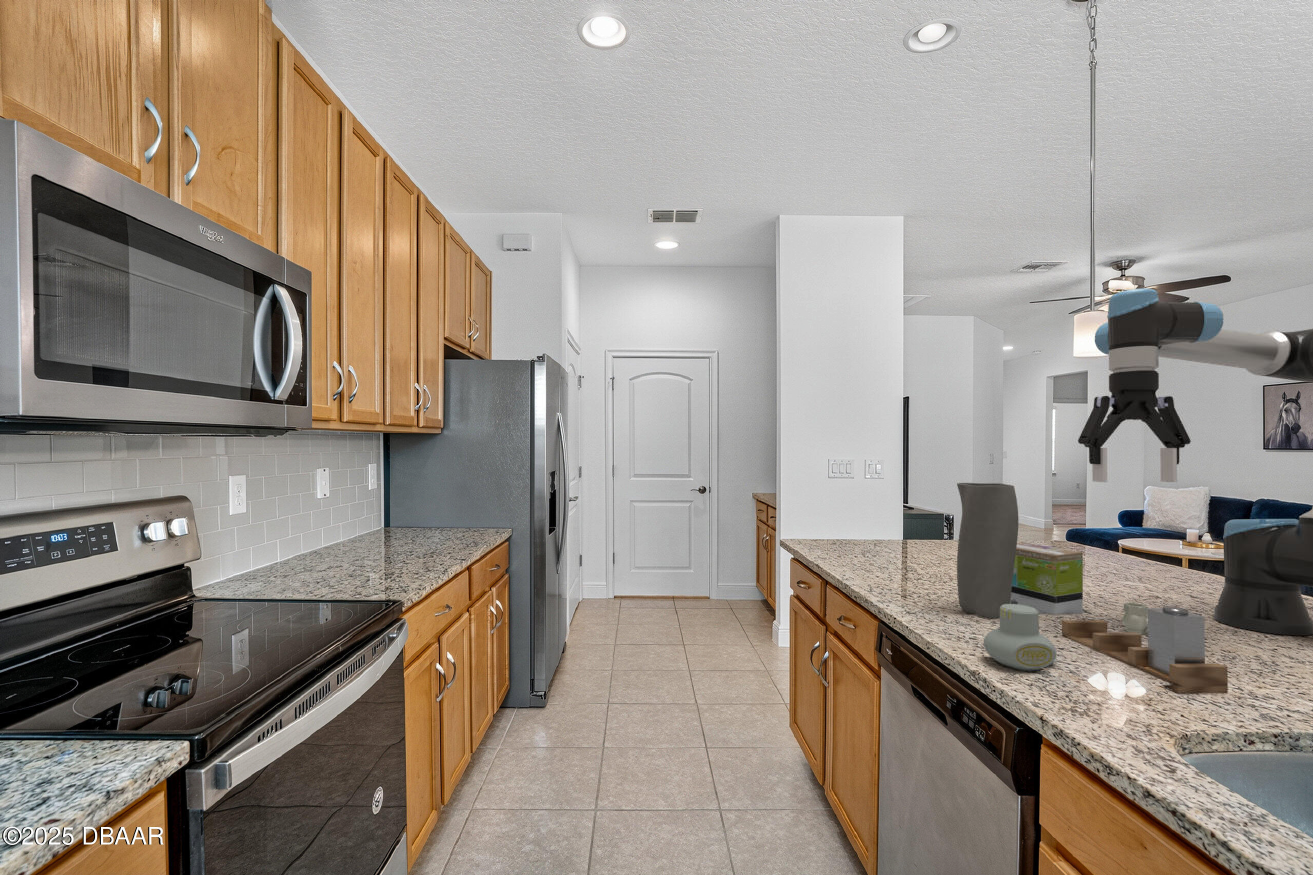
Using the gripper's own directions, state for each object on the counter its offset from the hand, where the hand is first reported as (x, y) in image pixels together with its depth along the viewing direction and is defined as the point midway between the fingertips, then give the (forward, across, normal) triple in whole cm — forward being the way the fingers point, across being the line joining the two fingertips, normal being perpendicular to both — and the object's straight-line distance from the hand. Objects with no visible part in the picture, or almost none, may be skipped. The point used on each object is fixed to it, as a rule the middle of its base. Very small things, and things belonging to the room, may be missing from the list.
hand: (1134, 482), depth 115 cm
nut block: (+30, +7, +16) cm, 35 cm away
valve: (+32, -9, -4) cm, 33 cm away
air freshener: (+32, +28, +8) cm, 43 cm away
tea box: (+32, 0, -28) cm, 43 cm away
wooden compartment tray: (+32, +7, +8) cm, 33 cm away
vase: (+32, +16, -22) cm, 42 cm away
